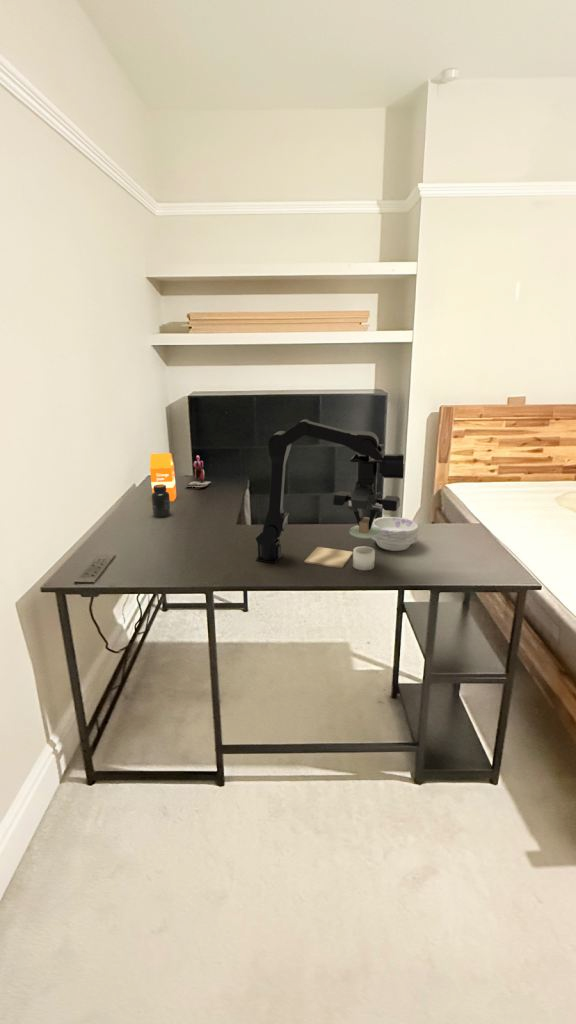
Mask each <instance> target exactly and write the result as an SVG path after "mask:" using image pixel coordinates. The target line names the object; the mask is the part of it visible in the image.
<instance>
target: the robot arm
mask: <svg viewBox="0 0 576 1024" xmlns="http://www.w3.org/2000/svg"><path fill="white" fill-rule="evenodd" d="M303 436H308V437H311V438H314V439H318V440H323V441H326V442H330V443H334V444H338V445H341V446H344V447H347V448H348V449H350V450H351V451H353V452H355V454H354V455H353V456H352V457H351V458H350V460H349V462H350V463H356V482H355V487H354V490H353V491H352V494H351V491H344V490H343V491H342V490H339V491H338V492H336V493H335V494H334V495H333V497H332V505H333V506H342V507H343V506H344V505H345V504H346V503H348V506H347V509H348V510H350V511H352V512H353V515H354V516H355V519H356V522H357V526H358V525H359V522H360V521H361V520H362V518H363V510H364V511H365V510H368V509H369V518H370V519H369V530H370V529H371V527H372V524H373V522H374V519H376V517H377V515H378V513H380V512H382V511H383V510H384V511H389V512H390V511H392V512H397V510H398V509H399V508H400V506H401V499H400V497H399V496H396V495H386V496H385V497H384V498H378V492H377V487H378V485H377V484H378V473H379V475H381V477H382V478H383V479H395V480H396V479H400V480H401V479H402V480H404V472H405V469H404V468H405V464H404V462H405V461H404V460H405V459H404V457H405V456H404V453H403V454H402V453H398V454H390V453H389V454H387V453H386V452H385V451H384V449H383V448H382V447H381V445H380V444H379V442H380V441H379V440H380V439H379V438H378V435H377V434H376V433H374V432H372V431H365V430H363V431H362V430H345V429H342V428H338V427H334V426H330V425H326V424H322V423H319V422H314V421H311V420H309V419H302V420H301V421H299V422H298V423H297V424H295V425H293V426H292V427H290V428H289V429H287V430H285V431H284V430H279V431H277V432H276V433H274V434H273V435H272V436H270V438H268V440H267V450H268V456H269V460H270V463H271V467H270V480H269V481H270V483H269V484H270V485H269V498H268V499H269V500H268V509H267V513H266V515H265V519H264V523H263V527H262V530H261V531H260V532H259V533H258V535H256V537H255V541H256V544H257V557H256V558H255V561H257V562H262V563H263V562H264V563H270V564H275V563H276V562H278V560H280V559H281V558H282V557H283V554H282V544H281V542H280V541H281V539H280V537H281V535H282V534H283V533H284V532H285V530H286V528H287V526H289V523H288V522H289V521H288V518H289V514H290V513H289V512H285V510H284V496H285V495H284V492H285V481H286V480H285V479H286V464H287V461H288V457H289V454H290V451H291V448H292V444H293V443H294V442H296V441H297V440H299V439H300V438H302V437H303ZM378 464H379V469H378ZM378 471H379V472H378ZM370 506H371V508H370Z"/></svg>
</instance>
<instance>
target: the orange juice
mask: <svg viewBox="0 0 576 1024" xmlns="http://www.w3.org/2000/svg"><path fill="white" fill-rule="evenodd" d="M149 464H150V465H149V467H150V468H149V472H150V473H149V474H150V481H151V491H152V493H154V488H153V486H154V485H158V484H164V485H166V489H167V490H166V491H167V492H168V493H169V496H170V502H174V501H175V500H176V498H177V488H176V478H175V477H176V474H175V464H174V460H173V456H172V453H171V452H164V453H163V452H162V453H160V452H159V453H150V460H149ZM152 493H151V494H152Z"/></svg>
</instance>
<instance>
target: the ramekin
mask: <svg viewBox="0 0 576 1024" xmlns="http://www.w3.org/2000/svg"><path fill="white" fill-rule="evenodd" d="M352 552H353V554H352V567H353V568H354V569H356V570H358V571H369V570H371V571H372V570H373V569H374V568H375V559H376V557H375V556H376V550H375V548H373V547H370V546H365V545H364V546H356V547H354V548H353V551H352Z"/></svg>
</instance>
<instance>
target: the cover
mask: <svg viewBox="0 0 576 1024" xmlns="http://www.w3.org/2000/svg"><path fill="white" fill-rule="evenodd" d="M369 519H370V516H369V517H367V516H362V520H361V521H360V522H359V525H358V524H357V525H354V526H352V527H351V528H349V534H350V535H351V536H352V537H356V538H358V539H372V538H375V537H378V536H379V535H380V534H381V530H380V529H379V528H377V527H375V526H372V527H371V529H370V530H369Z"/></svg>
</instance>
